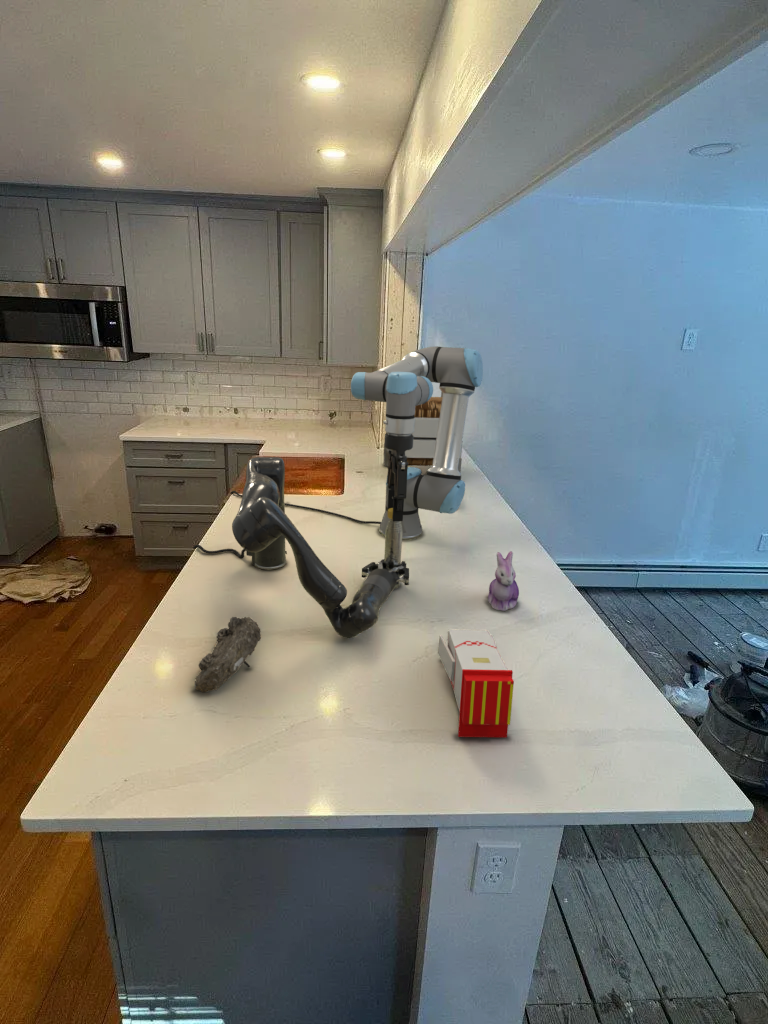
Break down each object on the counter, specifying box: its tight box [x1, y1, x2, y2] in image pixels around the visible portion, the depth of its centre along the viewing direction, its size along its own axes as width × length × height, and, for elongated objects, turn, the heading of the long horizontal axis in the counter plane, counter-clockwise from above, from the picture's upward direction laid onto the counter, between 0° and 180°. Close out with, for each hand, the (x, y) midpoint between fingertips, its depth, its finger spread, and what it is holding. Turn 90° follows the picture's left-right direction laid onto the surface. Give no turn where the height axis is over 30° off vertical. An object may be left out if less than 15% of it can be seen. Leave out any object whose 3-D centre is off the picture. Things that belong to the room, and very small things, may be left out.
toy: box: [437, 628, 515, 738], centre depth 117 cm, size 12×13×30 cm
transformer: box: [383, 391, 464, 475], centre depth 268 cm, size 34×33×41 cm
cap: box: [388, 508, 393, 519], centre depth 155 cm, size 4×4×2 cm
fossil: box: [194, 616, 262, 693], centre depth 122 cm, size 22×10×15 cm
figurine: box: [487, 550, 520, 612], centre depth 153 cm, size 9×10×15 cm
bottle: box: [383, 519, 403, 590], centre depth 159 cm, size 5×5×22 cm
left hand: (394, 562), depth 163 cm, fingers closed on bottle, 4 cm apart
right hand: (394, 516), depth 155 cm, fingers open, 6 cm apart
